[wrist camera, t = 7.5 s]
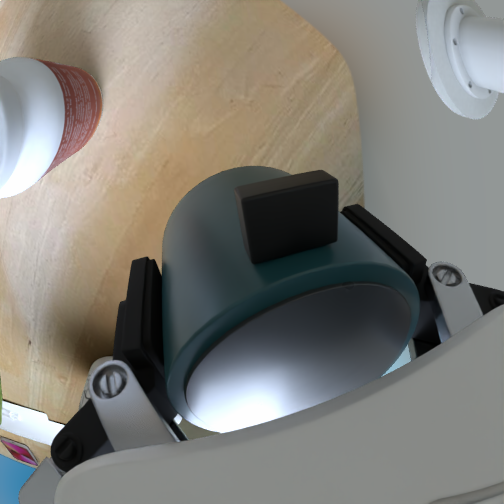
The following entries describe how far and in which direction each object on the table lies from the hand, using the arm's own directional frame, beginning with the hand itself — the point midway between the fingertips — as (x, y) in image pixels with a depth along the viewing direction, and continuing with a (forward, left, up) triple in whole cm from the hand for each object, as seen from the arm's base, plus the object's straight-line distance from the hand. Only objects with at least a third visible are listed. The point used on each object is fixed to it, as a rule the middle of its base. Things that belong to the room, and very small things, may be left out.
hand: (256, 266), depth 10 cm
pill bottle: (+9, -8, -11) cm, 16 cm away
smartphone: (+60, +43, -11) cm, 74 cm away
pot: (0, 0, -1) cm, 1 cm away
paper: (+41, +29, -11) cm, 51 cm away
